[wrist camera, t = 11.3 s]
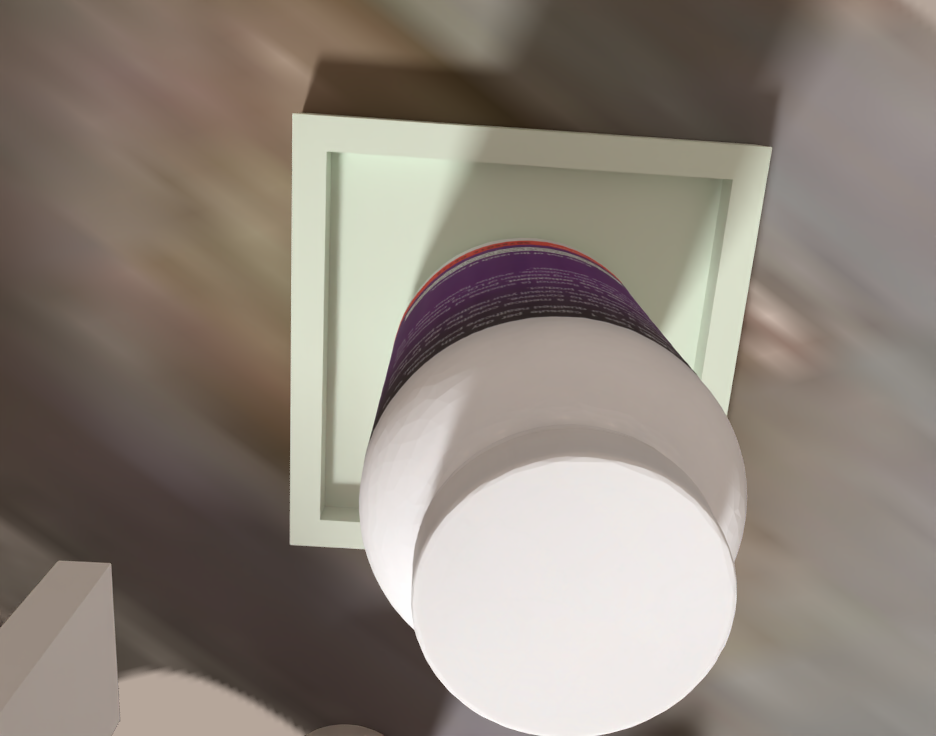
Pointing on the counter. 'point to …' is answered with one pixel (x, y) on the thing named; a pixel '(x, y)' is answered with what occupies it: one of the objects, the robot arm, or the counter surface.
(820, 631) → the counter surface
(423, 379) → the pill bottle
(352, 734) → the white cylinder
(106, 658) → the robot arm
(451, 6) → the counter surface
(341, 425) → the tray
